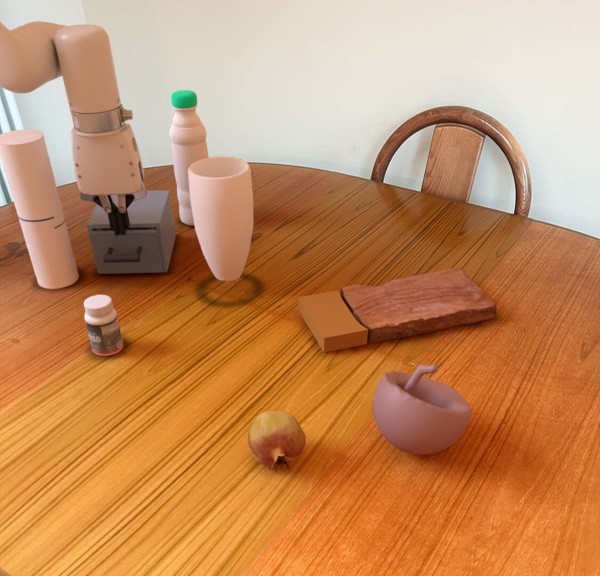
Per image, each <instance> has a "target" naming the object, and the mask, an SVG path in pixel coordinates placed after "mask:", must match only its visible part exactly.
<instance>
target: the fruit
mask: <svg viewBox="0 0 600 576" xmlns="http://www.w3.org/2000/svg"><path fill="white" fill-rule="evenodd" d="M247 443H248V447H249V448H250V450H251V452H252V454H253V456H254V458H255V460H256V461H257V463H259V464H261V465H264V466H266V467H267V466H268V467H271V469H274V468H275V473H278V471H279V470H280V469H281V467H283V468H284V469H286V470H290V464H289V462H292V461H294V460H295V459H297V458H298V457H299V456H300V455H301V454H302V452H303V451H304V449H305V447H306V445H307V444H306V443H307V436H306V433H305V431H304V429H303V428H302V426H301V425H300V423H299V421H298V419H297V417H296V416H294V415H293V414H291V413H289V412H288V411H283V410H267V411H263V412H262V413H260V414H259V415H258V416H256V417H255V418H254V420H253V423H252V424H251V426H250V427H249V429H248V433H247Z"/></svg>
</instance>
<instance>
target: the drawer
mask: <svg viewBox="0 0 600 576" xmlns="http://www.w3.org/2000/svg"><path fill="white" fill-rule="evenodd" d="M89 235H90V237H89V240H90V239H91V241H90V245H91V244H92V246H91V249H92V248H93V250H92V253H93V252H94V254H93V258H94V257H95V259H94V262H95V261H96V263H95V267H96V266H97V268H96V271H97V270H98V272H97V274H98V275H108V274H109V275H114V274H151V273H154V274H155V273H157V274H159V273H163V272H162V270H163V268H162V262H161V255H160V249H159V242H158V236H157V230H156V227H146V228H128V229H127V231H126V234H125V235H119V236H115V233H114V229H111V228H100V229H97V231H90V233H89V232H88V236H89Z"/></svg>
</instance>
